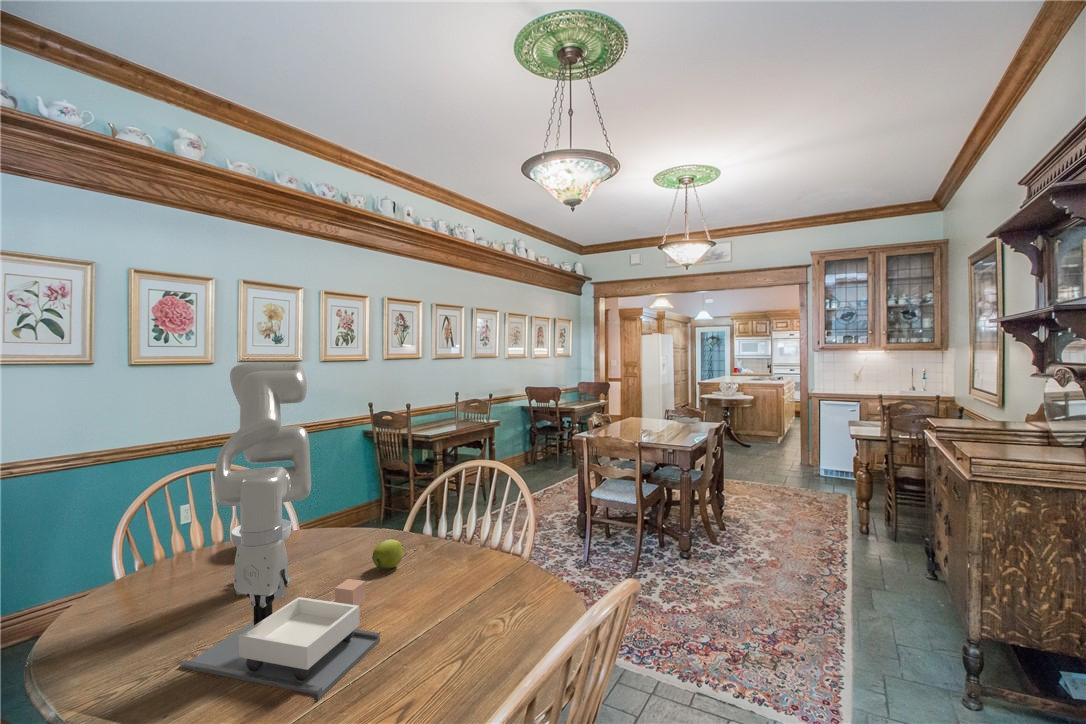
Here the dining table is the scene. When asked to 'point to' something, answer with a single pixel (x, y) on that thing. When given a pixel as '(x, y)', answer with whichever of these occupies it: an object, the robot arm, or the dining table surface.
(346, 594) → the block
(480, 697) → the dining table surface
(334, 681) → the track
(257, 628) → the cart
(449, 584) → the dining table surface
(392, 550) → the apple
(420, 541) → the dining table surface
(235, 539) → the cereal bowl
